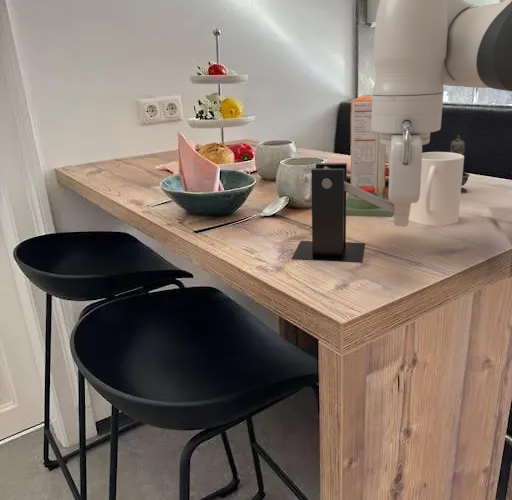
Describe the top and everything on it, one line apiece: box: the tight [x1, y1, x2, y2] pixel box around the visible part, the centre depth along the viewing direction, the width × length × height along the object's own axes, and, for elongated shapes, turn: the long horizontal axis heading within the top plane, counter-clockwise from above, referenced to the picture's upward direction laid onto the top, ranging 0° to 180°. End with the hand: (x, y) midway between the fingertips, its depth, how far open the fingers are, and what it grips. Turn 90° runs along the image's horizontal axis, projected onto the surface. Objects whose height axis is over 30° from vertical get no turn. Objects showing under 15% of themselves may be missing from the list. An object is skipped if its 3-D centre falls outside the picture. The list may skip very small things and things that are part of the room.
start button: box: [355, 186, 375, 197], centre depth 93 cm, size 4×4×2 cm
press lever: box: [323, 166, 395, 215], centre depth 70 cm, size 13×5×2 cm, turn 75°
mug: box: [408, 151, 465, 226], centre depth 85 cm, size 12×8×12 cm
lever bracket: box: [291, 162, 366, 264], centre depth 73 cm, size 10×8×14 cm
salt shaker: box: [449, 134, 471, 194], centre depth 107 cm, size 6×6×12 cm
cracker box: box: [350, 94, 387, 195], centre depth 103 cm, size 14×6×21 cm, turn 161°
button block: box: [346, 192, 393, 218], centre depth 94 cm, size 10×8×4 cm
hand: (400, 218), depth 70 cm, fingers closed on press lever, 5 cm apart
